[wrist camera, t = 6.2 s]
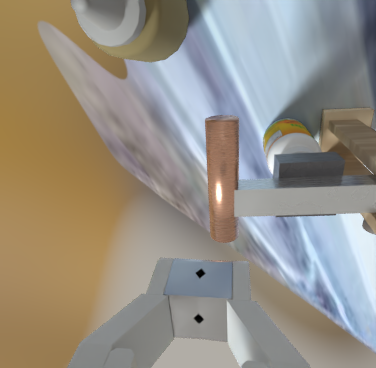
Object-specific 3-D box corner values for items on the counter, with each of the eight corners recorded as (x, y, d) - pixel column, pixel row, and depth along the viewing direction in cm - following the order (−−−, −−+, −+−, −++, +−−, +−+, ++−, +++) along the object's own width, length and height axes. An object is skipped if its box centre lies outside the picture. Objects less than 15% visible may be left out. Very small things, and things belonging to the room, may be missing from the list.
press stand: (322, 109, 34) (386, 160, 20) (369, 107, 33) (471, 159, 19) (315, 165, 37) (365, 244, 23) (358, 164, 36) (438, 246, 22)
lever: (205, 111, 23) (205, 124, 20) (397, 99, 22) (435, 111, 19) (209, 216, 28) (210, 243, 24) (370, 211, 27) (397, 238, 23)
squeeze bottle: (114, 42, 34) (5, 45, 18) (134, -38, 30) (20, -125, 14) (177, 71, 34) (126, 100, 18) (205, -4, 30) (172, -51, 15)
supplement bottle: (317, 133, 35) (344, 164, 26) (287, 167, 37) (302, 205, 29) (281, 108, 34) (297, 131, 26) (253, 144, 37) (258, 176, 28)
